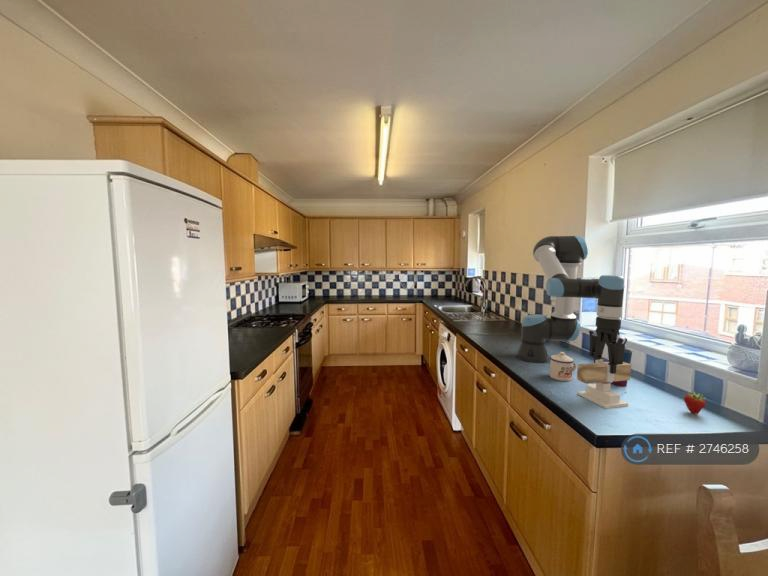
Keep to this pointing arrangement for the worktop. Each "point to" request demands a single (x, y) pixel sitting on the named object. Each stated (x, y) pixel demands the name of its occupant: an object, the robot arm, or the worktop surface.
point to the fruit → (694, 402)
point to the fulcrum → (602, 395)
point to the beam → (601, 372)
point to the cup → (627, 360)
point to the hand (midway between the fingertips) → (603, 378)
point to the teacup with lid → (561, 367)
